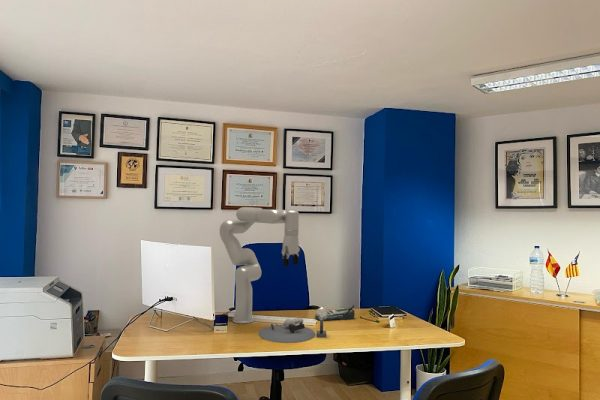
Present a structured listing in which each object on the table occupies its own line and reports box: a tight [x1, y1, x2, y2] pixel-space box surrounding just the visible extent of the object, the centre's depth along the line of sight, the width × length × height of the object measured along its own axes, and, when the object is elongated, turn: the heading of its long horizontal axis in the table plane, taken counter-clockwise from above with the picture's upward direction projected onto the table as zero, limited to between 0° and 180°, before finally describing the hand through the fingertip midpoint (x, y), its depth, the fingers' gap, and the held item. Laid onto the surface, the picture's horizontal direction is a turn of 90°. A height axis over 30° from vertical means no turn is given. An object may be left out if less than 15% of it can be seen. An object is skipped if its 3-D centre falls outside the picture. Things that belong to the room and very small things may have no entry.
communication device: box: [314, 304, 355, 322], centre depth 244 cm, size 12×24×9 cm, turn 107°
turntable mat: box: [257, 324, 316, 344], centre depth 212 cm, size 30×30×1 cm
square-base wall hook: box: [315, 307, 329, 339], centre depth 209 cm, size 6×5×15 cm
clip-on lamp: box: [270, 317, 306, 333], centre depth 217 cm, size 12×6×18 cm
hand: (290, 265), depth 217 cm, fingers open, 9 cm apart
